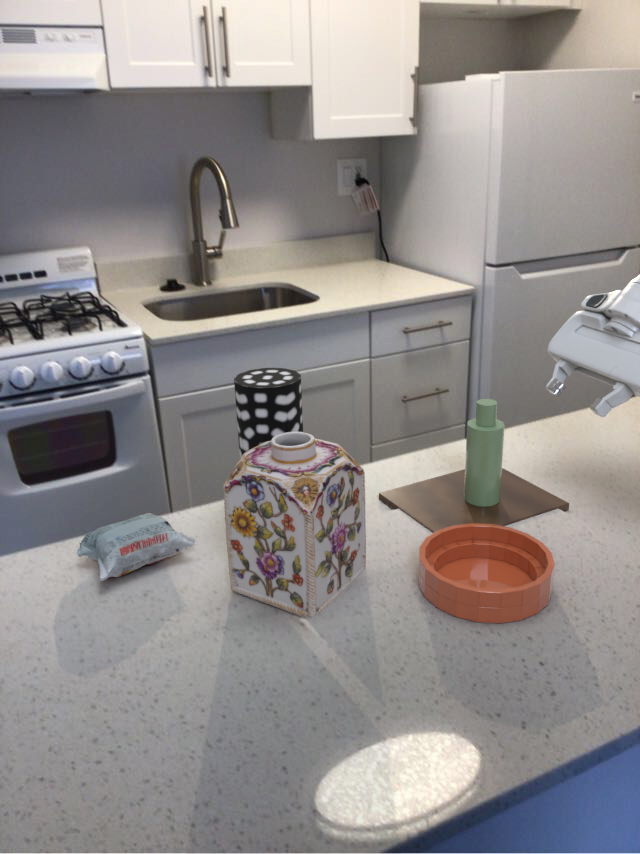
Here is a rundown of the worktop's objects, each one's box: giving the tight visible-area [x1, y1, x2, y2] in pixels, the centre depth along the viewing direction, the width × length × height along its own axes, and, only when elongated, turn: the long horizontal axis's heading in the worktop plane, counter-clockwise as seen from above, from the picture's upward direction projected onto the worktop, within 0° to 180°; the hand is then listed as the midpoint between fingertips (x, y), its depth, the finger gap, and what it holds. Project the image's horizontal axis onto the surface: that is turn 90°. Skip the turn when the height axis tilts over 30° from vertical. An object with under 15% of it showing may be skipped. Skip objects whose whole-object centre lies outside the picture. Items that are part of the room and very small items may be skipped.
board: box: [378, 467, 570, 534], centre depth 103 cm, size 20×16×1 cm
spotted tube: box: [233, 367, 304, 459], centre depth 97 cm, size 8×8×20 cm
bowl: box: [418, 523, 556, 624], centre depth 84 cm, size 14×14×4 cm
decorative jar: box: [222, 431, 367, 619], centre depth 84 cm, size 12×12×18 cm
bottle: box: [464, 398, 506, 507], centre depth 100 cm, size 5×5×14 cm
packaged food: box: [76, 512, 196, 582], centre depth 91 cm, size 9×12×5 cm
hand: (572, 402), depth 100 cm, fingers open, 8 cm apart
